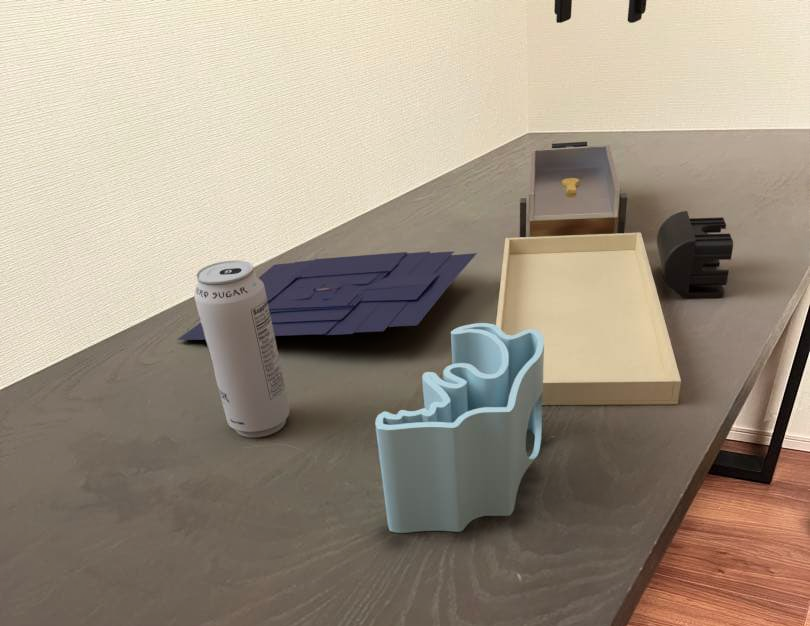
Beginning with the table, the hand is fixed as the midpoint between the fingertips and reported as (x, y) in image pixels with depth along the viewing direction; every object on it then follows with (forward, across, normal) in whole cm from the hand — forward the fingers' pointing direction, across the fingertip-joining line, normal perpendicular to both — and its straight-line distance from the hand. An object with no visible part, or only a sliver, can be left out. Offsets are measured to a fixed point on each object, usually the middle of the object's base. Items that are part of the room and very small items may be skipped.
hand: (598, 21), depth 102 cm
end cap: (+23, -22, +22) cm, 39 cm away
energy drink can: (+24, +4, +69) cm, 73 cm away
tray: (+23, -14, +35) cm, 44 cm away
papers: (+24, +13, +44) cm, 52 cm away
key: (+19, 0, +6) cm, 20 cm away
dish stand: (+24, -1, +7) cm, 25 cm away
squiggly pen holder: (+23, -18, +67) cm, 73 cm away
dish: (+19, 0, +5) cm, 20 cm away
